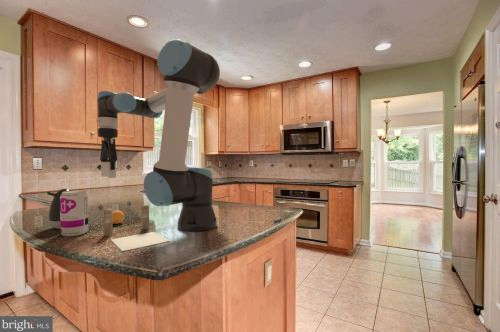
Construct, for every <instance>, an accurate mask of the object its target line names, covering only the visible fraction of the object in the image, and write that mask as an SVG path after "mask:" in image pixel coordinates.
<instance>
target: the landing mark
mask: <svg viewBox="0 0 500 332" xmlns="http://www.w3.org/2000/svg"><path fill="white" fill-rule="evenodd" d="M110 241H111V243H113V244H114V245H115V246H116V247H117V248H118V249H119V250H120V251H121V252H127V251H132V250H135V249H136V250H137V249H140V248H141V249H142V248H145V247H149V246H150V247H151V246H155V245H160V244H164V243H169V242H170V240H169V239H167V238H165V237H163V236H162V235H160V234H158V233H157V232H155V231H150V232H146V233H140V234H134V235H128V236H124V237H123V236H122V237H118V238H112V239H110Z"/></svg>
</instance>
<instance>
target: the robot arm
mask: <svg viewBox="0 0 500 332" xmlns="http://www.w3.org/2000/svg"><path fill="white" fill-rule="evenodd" d="M156 62H157V64H156V65H157V68H158V71H159V73H160V74H162V75H163V84H164V86H165V88H163V89H161V90H160V91H158V92H156V93H154V94H152V96H150V97H148V98H146V99H145V98H140V97H137V96H134V95H133V94H131V93H129V92H118V93H117V92H114V91H109V90H104V91H103V90H101V91H99V92H97V93H98V94H97V100H96V101H97V119H96V120H95V121H96V123H97V127H98V128H97V136H98V137H99V138H103V139H101V142H100V143H101V145H100V155H99V157H100V158H99V160H100V177H107V178H108V179H116V178H117V166H116V165H117V163H116V162H117V161H118V153H117V148H116V147H117V145H116V139H117V138H118V136H119V133H118V131H119V130H118V127H119V118H118V116H119V115H118V114H128V115H133V116H140V117H144V118H145V117H146V118H149V119H159V118H160V117H161V115H164V116H163V125H162V133H161V141H160V142H161V143H160V148H159V149H160V150H159V159H158V161H156V162H155V163H154V164H153V168H152V171H150V172H148V173H147V174H146V175H145V176H144V180H143V190H144V194H145V197H146V198H147V200H148V201H149V202H150V203H151V204H152V205H154V206H156V207H164V206H165V207H169V206H172V205H177V204H182V205H181V211H180V214H179V217H178V219H177V229H179V230H180V231H184V232H204V231H209V230H213V229H215V228H216V227H217V226H218V223H217V222H218V221H217V217H216V214H215V211H214V208H213V181H214V180H213V172H212V171H211V169H208V168H202V167H192V166H187V165H186V158H187V150H188V143H189V142H188V141H189V136H190V135H189V133H190V126H191V120H192V112H193V103H194V97H195V95H203V94H206V93H207V92H209V91H211V90H212V89H213V88H214V87H215V86H216V85H217V84H218V82H219V80H220V76H221V68H220V65H219V63H218V61H217V59H215V57H214V56H213V55H211V54H210V53H208V52H206V51H203V50H201V49H199V48H197V47H195V46H193V45H192V44H191V43H189V42H188V41H183V40H181V39H178V38H174V39H171V40H169V41H167V42H166V43H165V44H164V46H162V48H161V49H160V51H159V53H158V57H157V61H156ZM163 111H164V114H163Z"/></svg>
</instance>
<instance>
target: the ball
mask: <svg viewBox="0 0 500 332" xmlns="http://www.w3.org/2000/svg"><path fill="white" fill-rule="evenodd" d="M112 217H113V224H115V225H118V224H121V223H122V222H123V221H124V220H125V214H124V212H123V211H121V210H117V209H116V210H114V211H113V210H112Z"/></svg>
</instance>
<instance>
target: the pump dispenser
mask: <svg viewBox="0 0 500 332" xmlns="http://www.w3.org/2000/svg"><path fill="white" fill-rule="evenodd" d="M66 191H72V190H71V189H69V188H62V189H58V191H57V192H53V191H47V192H46V194H47V195H48V196H52V197H53V198H52V200H51V203H50V206H49V209H48V214H47V221H48V222H49V224H50V226H51V227H52V228H54V229H56V230H60V196H61V194H62V192H66Z"/></svg>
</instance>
